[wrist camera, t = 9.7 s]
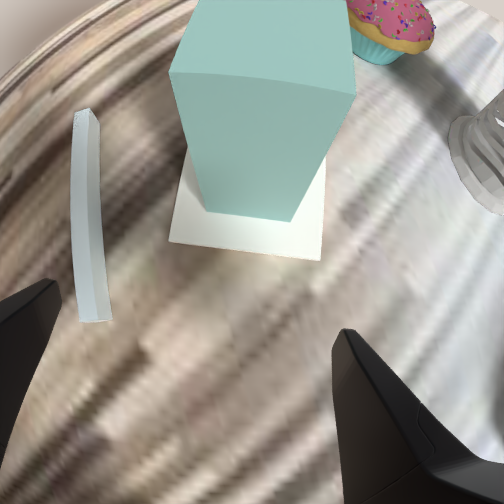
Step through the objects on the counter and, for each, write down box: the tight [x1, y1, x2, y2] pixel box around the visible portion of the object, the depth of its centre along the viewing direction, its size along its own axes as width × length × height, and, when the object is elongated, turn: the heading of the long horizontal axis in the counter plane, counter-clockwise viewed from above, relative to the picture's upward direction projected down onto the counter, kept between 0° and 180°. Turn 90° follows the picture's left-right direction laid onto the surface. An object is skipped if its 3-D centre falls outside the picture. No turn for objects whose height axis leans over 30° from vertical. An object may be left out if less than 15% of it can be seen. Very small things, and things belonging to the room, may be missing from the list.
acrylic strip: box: [70, 108, 113, 322], centre depth 18 cm, size 14×1×2 cm, turn 12°
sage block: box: [168, 0, 356, 222], centre depth 14 cm, size 5×5×12 cm
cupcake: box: [345, 0, 436, 65], centre depth 17 cm, size 9×8×12 cm
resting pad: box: [168, 148, 326, 261], centre depth 20 cm, size 9×9×1 cm
